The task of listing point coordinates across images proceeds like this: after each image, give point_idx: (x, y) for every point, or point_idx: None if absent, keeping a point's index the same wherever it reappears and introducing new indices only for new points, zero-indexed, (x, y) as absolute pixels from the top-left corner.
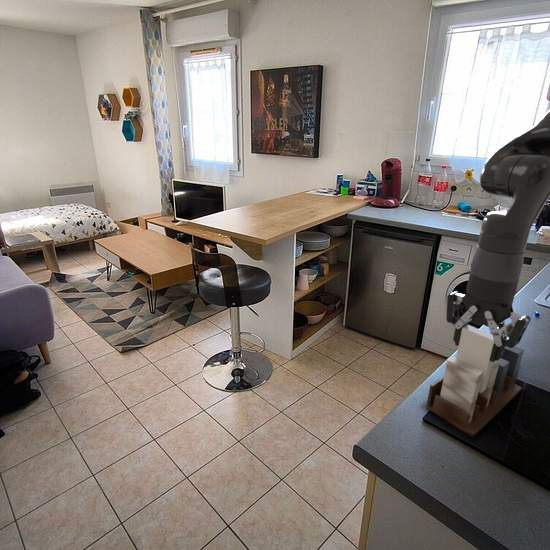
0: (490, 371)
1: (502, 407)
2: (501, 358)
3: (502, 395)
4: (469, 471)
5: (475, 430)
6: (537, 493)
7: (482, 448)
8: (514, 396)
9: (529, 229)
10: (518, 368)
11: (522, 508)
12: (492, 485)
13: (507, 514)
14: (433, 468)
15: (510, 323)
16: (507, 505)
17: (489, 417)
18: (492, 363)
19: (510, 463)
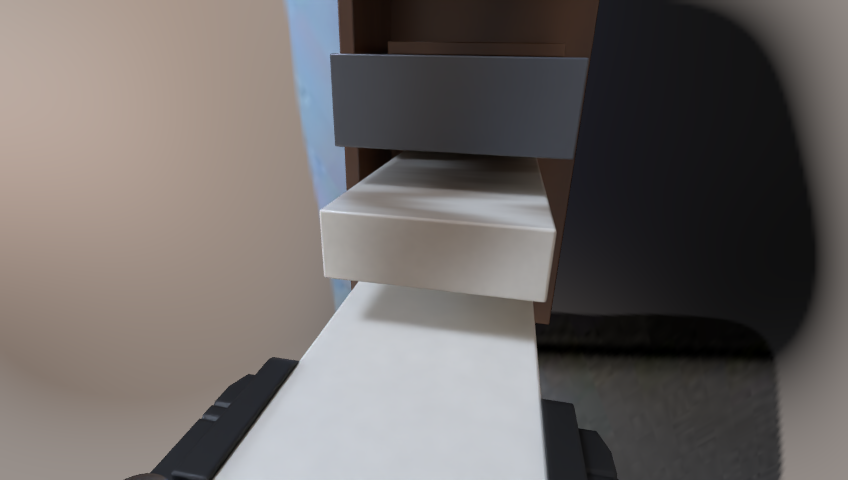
0: (534, 323)
1: (582, 108)
2: (526, 58)
3: (559, 25)
4: (583, 424)
5: (546, 306)
6: (755, 387)
7: (585, 337)
8: None
9: None
10: None
11: (724, 446)
12: (645, 429)
13: (695, 476)
14: None
15: None
16: (690, 457)
17: (561, 213)
18: (537, 361)
19: (670, 337)
